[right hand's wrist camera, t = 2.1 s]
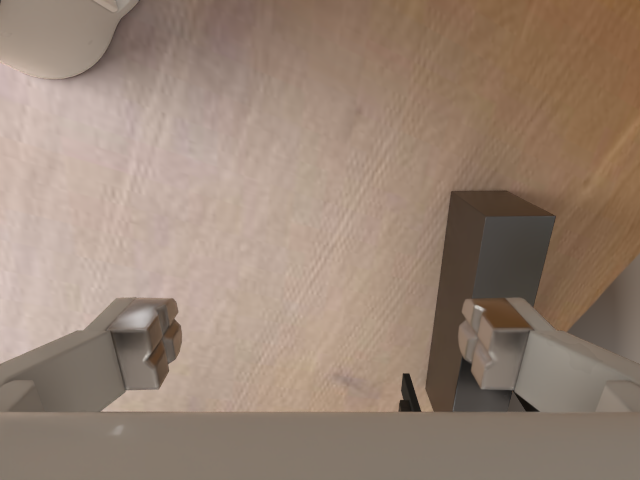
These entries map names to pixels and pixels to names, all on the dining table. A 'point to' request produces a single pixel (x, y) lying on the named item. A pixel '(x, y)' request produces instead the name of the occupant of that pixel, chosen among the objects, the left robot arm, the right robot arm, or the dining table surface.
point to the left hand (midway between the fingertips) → (461, 381)
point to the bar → (482, 285)
